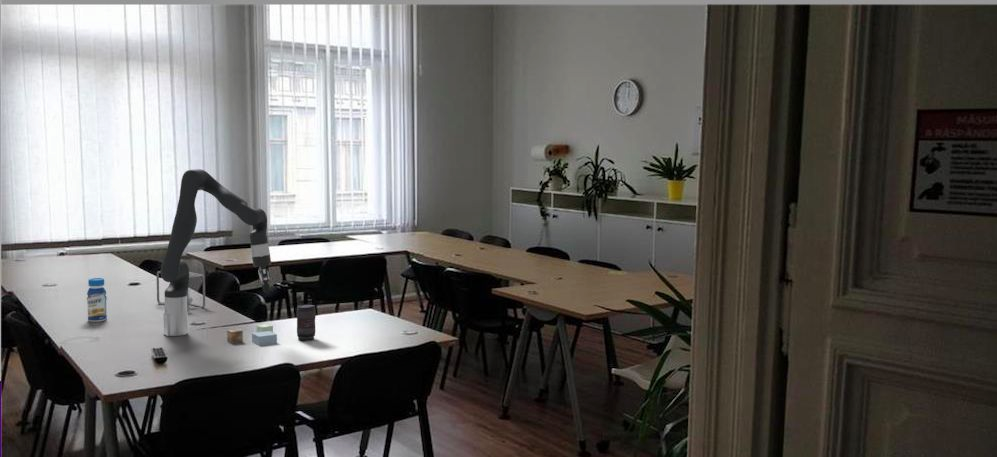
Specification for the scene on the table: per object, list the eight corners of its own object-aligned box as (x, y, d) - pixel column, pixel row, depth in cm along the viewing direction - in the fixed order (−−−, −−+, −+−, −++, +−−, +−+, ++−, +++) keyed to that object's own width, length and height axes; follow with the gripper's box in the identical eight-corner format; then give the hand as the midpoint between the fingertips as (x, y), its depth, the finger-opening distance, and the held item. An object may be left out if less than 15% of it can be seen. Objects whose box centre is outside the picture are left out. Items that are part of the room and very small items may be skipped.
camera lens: (319, 338, 351) (318, 304, 350) (309, 342, 344) (309, 308, 342) (302, 336, 354) (302, 303, 352) (293, 340, 346) (293, 306, 344)
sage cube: (263, 338, 349) (263, 327, 349) (256, 336, 352) (256, 325, 352) (273, 336, 353) (272, 325, 353) (266, 334, 356) (266, 324, 356)
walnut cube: (231, 343, 339) (231, 332, 339) (227, 341, 343) (227, 329, 343) (242, 342, 342) (242, 330, 342) (238, 339, 346) (238, 328, 346)
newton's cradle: (156, 303, 422) (156, 270, 421) (175, 301, 431) (174, 268, 429) (187, 311, 404) (186, 277, 402) (205, 308, 412) (205, 274, 410)
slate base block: (258, 345, 337) (258, 336, 336) (252, 342, 343) (252, 333, 343) (276, 343, 341) (276, 334, 341) (270, 339, 348) (270, 330, 348)
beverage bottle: (111, 318, 382) (109, 277, 381) (100, 322, 374) (99, 280, 372) (94, 318, 383) (93, 277, 381) (83, 321, 375) (82, 280, 373)
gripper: (251, 255, 347) (256, 291, 348) (252, 256, 334) (258, 294, 335) (268, 252, 350) (274, 288, 351) (271, 254, 337) (276, 291, 338)
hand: (266, 291), depth 343 cm, fingers open, 8 cm apart
